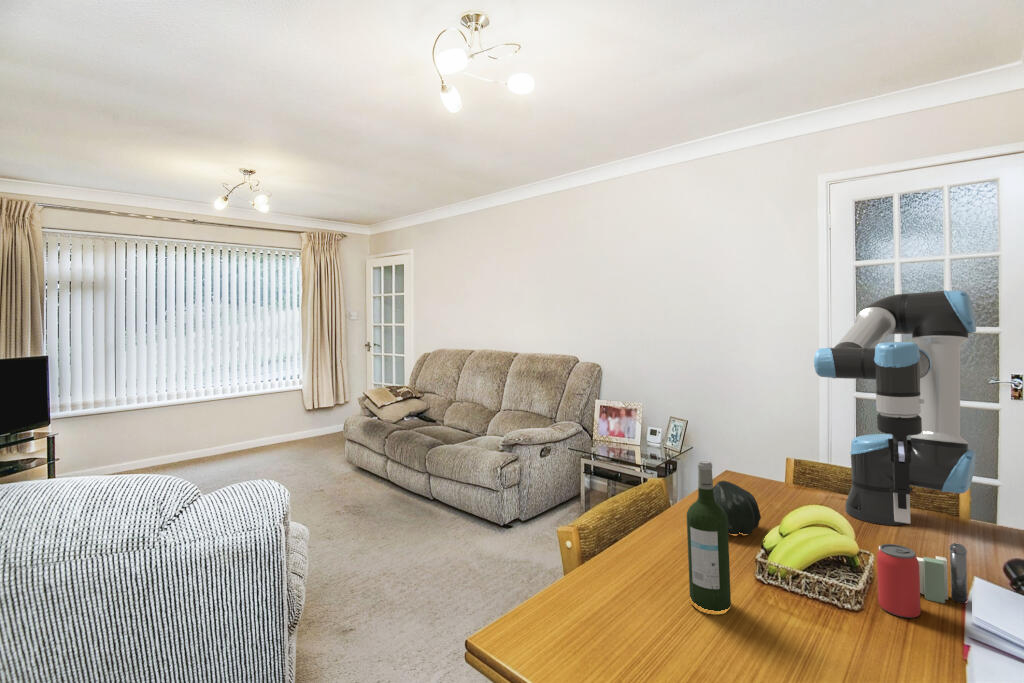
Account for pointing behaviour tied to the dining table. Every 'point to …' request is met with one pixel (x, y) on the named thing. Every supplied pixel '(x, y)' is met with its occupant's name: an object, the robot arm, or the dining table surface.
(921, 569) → the gate
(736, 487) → the squash
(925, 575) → the block
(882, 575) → the beer can
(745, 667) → the dining table surface
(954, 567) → the hinge post
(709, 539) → the wine bottle
